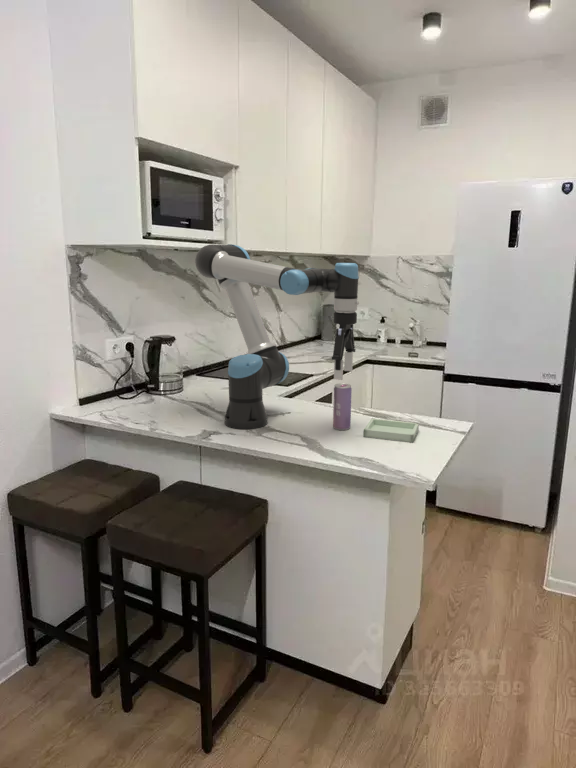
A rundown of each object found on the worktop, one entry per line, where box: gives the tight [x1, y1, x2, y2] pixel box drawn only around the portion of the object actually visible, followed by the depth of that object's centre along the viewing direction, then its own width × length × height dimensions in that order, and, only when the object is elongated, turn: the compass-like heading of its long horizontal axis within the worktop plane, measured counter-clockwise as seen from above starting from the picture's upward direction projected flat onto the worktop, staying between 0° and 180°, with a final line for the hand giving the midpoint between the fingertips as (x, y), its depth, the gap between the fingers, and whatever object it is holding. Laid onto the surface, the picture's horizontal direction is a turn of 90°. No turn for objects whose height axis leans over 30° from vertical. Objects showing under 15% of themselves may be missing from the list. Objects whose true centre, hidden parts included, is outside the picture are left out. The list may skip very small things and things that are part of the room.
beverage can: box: [332, 382, 353, 431], centre depth 187 cm, size 6×6×15 cm
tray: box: [363, 417, 420, 443], centre depth 183 cm, size 16×13×2 cm
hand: (343, 375), depth 184 cm, fingers open, 13 cm apart
